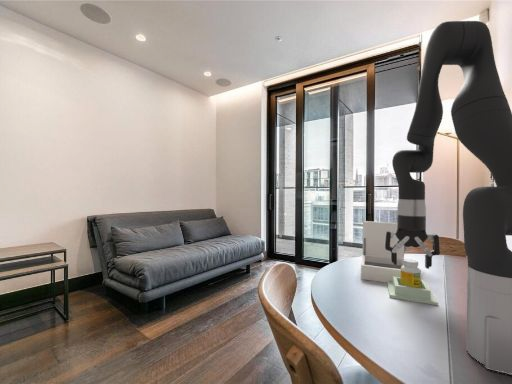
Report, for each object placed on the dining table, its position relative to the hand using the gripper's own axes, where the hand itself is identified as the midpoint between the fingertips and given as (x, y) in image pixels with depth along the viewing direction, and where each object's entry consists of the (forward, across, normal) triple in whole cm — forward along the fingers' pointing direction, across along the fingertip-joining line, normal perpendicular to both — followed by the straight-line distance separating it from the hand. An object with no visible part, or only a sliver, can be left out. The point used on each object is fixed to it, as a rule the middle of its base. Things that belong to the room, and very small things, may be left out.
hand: (410, 266), depth 77 cm
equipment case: (+8, -7, +15) cm, 19 cm away
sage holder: (+9, 0, 0) cm, 9 cm away
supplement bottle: (+8, 0, 0) cm, 8 cm away
